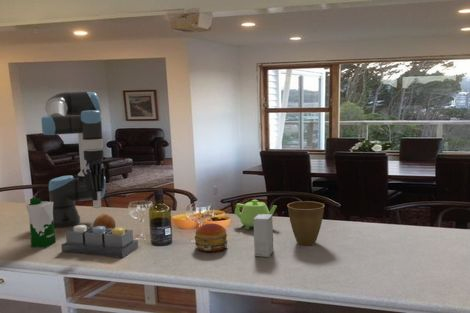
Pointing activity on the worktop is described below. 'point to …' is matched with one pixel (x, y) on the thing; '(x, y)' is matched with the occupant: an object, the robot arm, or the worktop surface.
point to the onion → (104, 221)
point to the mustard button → (118, 231)
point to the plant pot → (306, 220)
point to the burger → (211, 238)
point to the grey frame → (99, 243)
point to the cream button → (80, 228)
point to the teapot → (252, 212)
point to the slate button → (98, 229)
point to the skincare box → (263, 235)
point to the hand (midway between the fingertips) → (97, 207)
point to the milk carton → (41, 223)
